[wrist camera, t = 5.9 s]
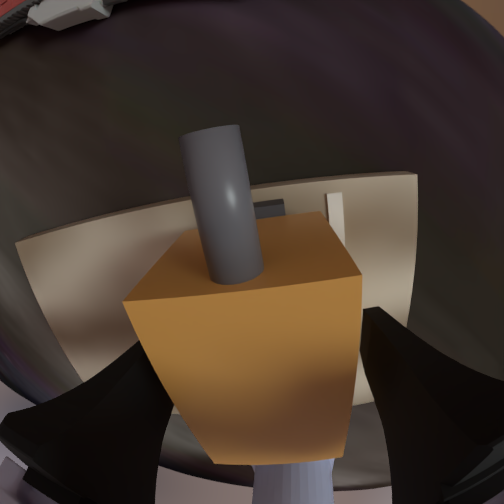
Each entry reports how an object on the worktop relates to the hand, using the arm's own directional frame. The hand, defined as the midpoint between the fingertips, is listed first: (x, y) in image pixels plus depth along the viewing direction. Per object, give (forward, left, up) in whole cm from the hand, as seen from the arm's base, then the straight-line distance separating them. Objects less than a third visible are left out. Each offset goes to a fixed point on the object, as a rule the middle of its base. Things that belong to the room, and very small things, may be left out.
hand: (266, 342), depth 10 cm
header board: (-2, +4, -4) cm, 6 cm away
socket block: (+2, 0, -2) cm, 2 cm away
